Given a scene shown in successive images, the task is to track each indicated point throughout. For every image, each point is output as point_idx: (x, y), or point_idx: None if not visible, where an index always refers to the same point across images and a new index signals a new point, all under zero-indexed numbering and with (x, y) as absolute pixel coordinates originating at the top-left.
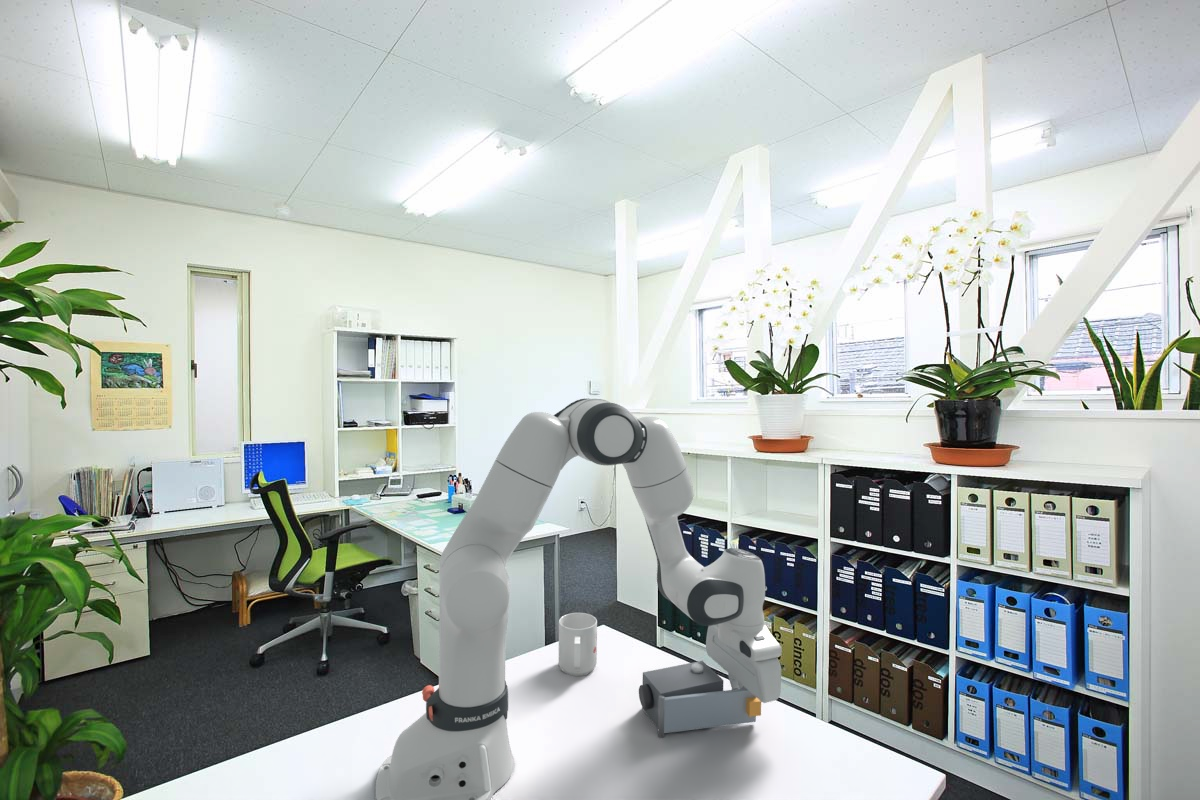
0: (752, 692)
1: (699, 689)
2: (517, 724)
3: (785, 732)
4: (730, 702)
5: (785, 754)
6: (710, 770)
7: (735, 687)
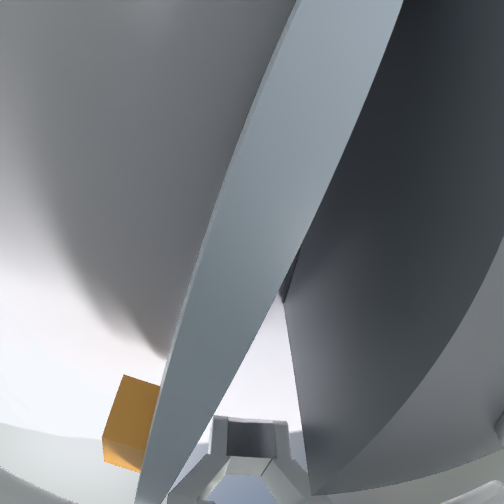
0: (12, 487)
1: (436, 267)
2: None
3: (104, 395)
4: (161, 384)
5: (17, 322)
6: (26, 11)
7: (271, 468)
